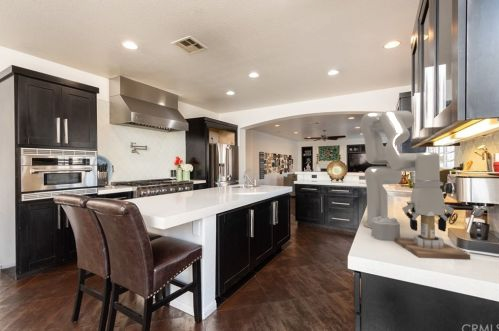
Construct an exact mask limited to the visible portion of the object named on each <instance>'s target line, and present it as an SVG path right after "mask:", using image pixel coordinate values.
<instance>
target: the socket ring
mask: <svg viewBox="0 0 499 331" xmlns="http://www.w3.org/2000/svg"><path fill="white" fill-rule="evenodd" d="M413 239H414V245H416V246H418V247H422V248H426V249H435V250H440V249H443V243H444V238H441V237H440V236H436V235H435V240H426V239H422V238H421V233H419V234H414V235H413Z"/></svg>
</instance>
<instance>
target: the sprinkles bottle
mask: <svg viewBox="0 0 499 331" xmlns="http://www.w3.org/2000/svg"><path fill="white" fill-rule="evenodd" d="M435 217H436V216H435V215H434V214H433V212H429V213H428V215H420V234H421V238H422V239H426V240H435V236H436V229H435V228H436V225H435Z"/></svg>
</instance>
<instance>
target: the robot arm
mask: <svg viewBox="0 0 499 331" xmlns="http://www.w3.org/2000/svg"><path fill="white" fill-rule="evenodd" d="M414 123H415V116H414V114H413V113H412V112H411V111H410V110H387V111H374V112H368V113H365V114H364V115H363V116H362V117H361V120H360V129H361V134H362V137H363V139H364V147H365V149H364V150H365V156H366V161H367V163H368V164H371V165H378V166H369V167H367V168H366V170H364V179H365V185H366V186H365V187H366V202H367V203H366V208H367V209H366V211H367V212H366V213H367V215H366V217H367V221H365V222H364V223H363V225H364V226H365V227H366V228H369V229H372V224H371V220H372V219H373V218H374V217H378V216H381V217H382V218H384V217H385V216H387V217H388V218H389V215H388V214H389V212H388V210H389V209H388V204H389V203H388V202H389V201H388V192H387V190H386V188H385V187H384V185H398V184H399V183H401V181H402V178H403V172H414V188H413V187H412V189H411V196H410V202H409V204H407V205H405V206H402V208H401V209H402V211H403V213H404V214H405V216H406V217H407V218H408V219H409V226H410V230H413V231H415V232H417V231H418V220H417V219H418V217H419V216H421V215H428V213H429V212H433V214H434V215H435V217H436V216H437V217H438V219H437V222H438V223H437V228H438V230H439V231H441V232H446V231H447V230H446V229H447V221H448V220H449V218H451V216H452V214H453V212H454V210H455V208H453V207H451V206H448V205H447V204H445V197H444V193H443V190H442V188H441V186H443V185H444V182H443V181H441V179H440V173H441V172H440V171H441V170H440V154H439V153H437V152H434V151H433V152H430V151H428V152H416V153H415V152H414V153H413V152H412V153H411V152H410V153H409V152H408V153H407V152H405V153H403V152H400V151H399V150H398V149H397V146H399V145H401V144H403V143H405V142H406V141H408V139H409V138H410V135H411V133H410V130H409V129H410V128H412V126H414ZM377 129H382V130H383V132H384V134H385V135H386V138H387V142H386V144H385V145H384V144H383V143H384V142H383V136H382V135H381V134H380V132H379V131H378V130H377ZM380 165H384V166H380ZM385 165H386V166H385Z"/></svg>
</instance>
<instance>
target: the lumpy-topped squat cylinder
mask: <svg viewBox="0 0 499 331" xmlns="http://www.w3.org/2000/svg"><path fill="white" fill-rule="evenodd" d="M371 224H372V228H371V236H372V238H373V239H375V240H378V241H385V242H386V241H389V242H390V241H391V242H394V238H401V223H400V222H399V221H398V220H397V218H395V217H392V218H389V216H388V217H387V216H385V217H384V218H382V217H381V216H378V217H374V218H373V219H372V220H371Z"/></svg>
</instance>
